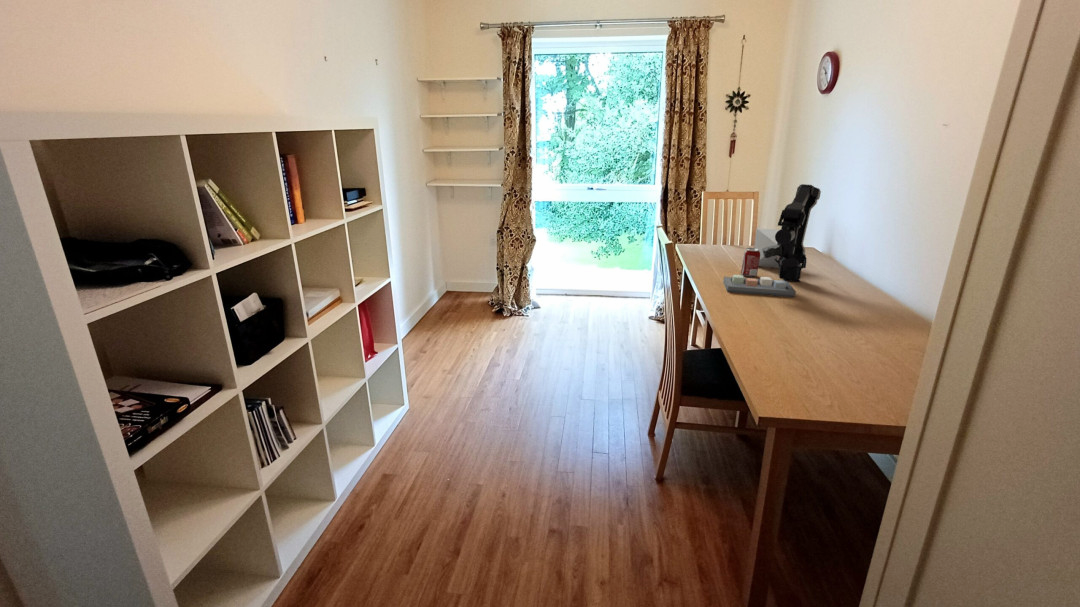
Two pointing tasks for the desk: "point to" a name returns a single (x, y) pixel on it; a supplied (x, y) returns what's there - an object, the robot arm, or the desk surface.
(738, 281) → the key sage
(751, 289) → the keypad board
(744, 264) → the soda can
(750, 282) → the key terracotta
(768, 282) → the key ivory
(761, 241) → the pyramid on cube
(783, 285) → the key slate
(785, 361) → the desk surface
